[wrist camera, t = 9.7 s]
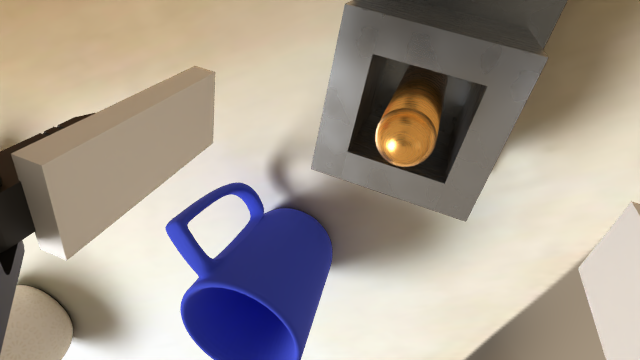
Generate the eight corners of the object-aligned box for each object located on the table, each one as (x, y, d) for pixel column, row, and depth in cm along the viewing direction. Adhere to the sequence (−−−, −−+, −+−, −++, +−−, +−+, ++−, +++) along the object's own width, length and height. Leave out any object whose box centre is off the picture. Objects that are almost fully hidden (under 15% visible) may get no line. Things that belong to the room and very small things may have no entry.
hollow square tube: (374, -10, 21) (345, 3, 16) (529, 29, 20) (548, 57, 15) (342, 125, 25) (311, 168, 21) (467, 165, 24) (465, 221, 19)
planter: (95, 353, 55) (21, 433, 46) (24, 326, 58) (-58, 396, 49) (72, 289, 48) (-19, 367, 39) (-6, 261, 51) (-108, 329, 42)
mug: (283, 136, 28) (207, 213, 20) (363, 264, 32) (325, 375, 24) (206, 173, 32) (116, 250, 24) (283, 284, 36) (228, 384, 28)
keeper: (398, -187, 18) (336, -301, 10) (633, -146, 17) (798, -239, 8) (329, 126, 27) (264, 208, 19) (477, 174, 25) (480, 287, 17)
